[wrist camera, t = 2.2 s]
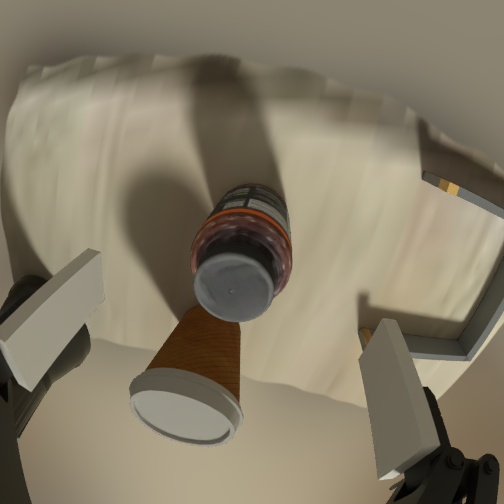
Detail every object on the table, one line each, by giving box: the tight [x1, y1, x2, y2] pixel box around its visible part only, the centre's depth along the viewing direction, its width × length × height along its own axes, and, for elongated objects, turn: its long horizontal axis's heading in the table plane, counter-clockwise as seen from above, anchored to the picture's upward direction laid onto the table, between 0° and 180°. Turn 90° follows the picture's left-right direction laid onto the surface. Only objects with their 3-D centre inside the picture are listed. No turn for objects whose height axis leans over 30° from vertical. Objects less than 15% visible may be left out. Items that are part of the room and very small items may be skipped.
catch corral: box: [358, 171, 504, 361], centre depth 22 cm, size 16×18×4 cm
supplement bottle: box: [190, 184, 292, 322], centre depth 19 cm, size 6×6×11 cm
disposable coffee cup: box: [129, 305, 243, 447], centre depth 24 cm, size 10×10×12 cm
